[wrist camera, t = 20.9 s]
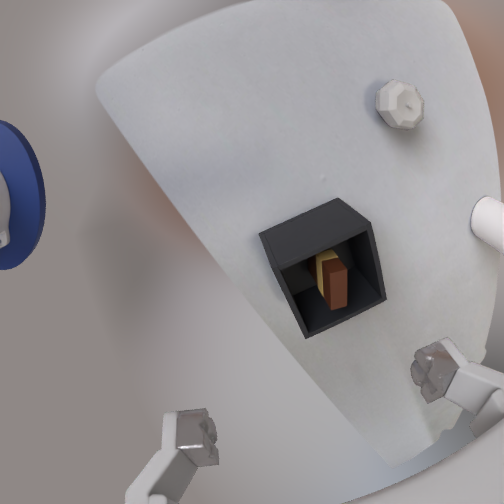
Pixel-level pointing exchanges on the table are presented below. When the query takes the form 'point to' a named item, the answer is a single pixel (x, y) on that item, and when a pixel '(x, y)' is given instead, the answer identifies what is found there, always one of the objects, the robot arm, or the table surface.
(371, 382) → the table surface
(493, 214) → the wine bottle
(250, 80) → the table surface
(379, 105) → the apple
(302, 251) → the waste bin
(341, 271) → the chocolate bar
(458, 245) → the table surface
